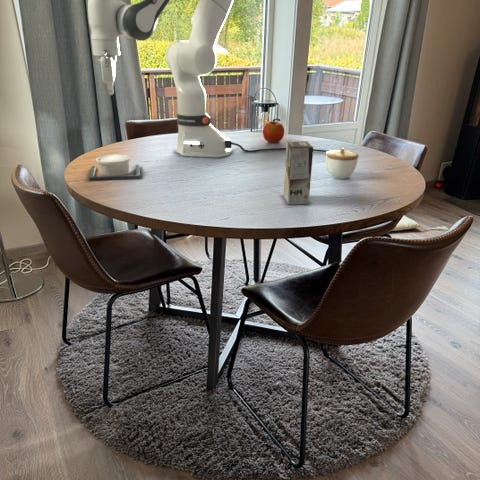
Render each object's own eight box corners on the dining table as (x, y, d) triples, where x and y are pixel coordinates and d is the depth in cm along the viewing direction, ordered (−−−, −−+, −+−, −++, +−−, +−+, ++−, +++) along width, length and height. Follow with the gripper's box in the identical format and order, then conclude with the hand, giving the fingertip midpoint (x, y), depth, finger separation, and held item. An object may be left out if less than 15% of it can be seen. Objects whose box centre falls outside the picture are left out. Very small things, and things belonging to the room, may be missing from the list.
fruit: (272, 138, 224) (273, 115, 219) (288, 142, 218) (289, 118, 213) (257, 141, 218) (258, 117, 213) (273, 145, 212) (274, 120, 207)
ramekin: (95, 171, 173) (93, 155, 170) (127, 168, 177) (125, 153, 174) (101, 179, 164) (99, 163, 161) (134, 176, 168) (132, 160, 165)
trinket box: (357, 174, 174) (361, 146, 169) (353, 182, 165) (356, 153, 160) (327, 171, 177) (329, 143, 172) (321, 178, 168) (324, 150, 163)
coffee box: (309, 204, 144) (314, 147, 136) (287, 204, 144) (291, 147, 135) (303, 195, 152) (307, 140, 144) (282, 195, 152) (285, 140, 143)
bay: (92, 169, 176) (91, 166, 175) (139, 167, 178) (138, 164, 178) (89, 180, 163) (89, 177, 162) (140, 178, 166) (139, 175, 165)
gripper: (114, 51, 158) (119, 98, 165) (116, 48, 175) (120, 90, 182) (94, 51, 157) (100, 98, 164) (97, 48, 174) (103, 91, 181)
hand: (111, 94), depth 173 cm, fingers closed
